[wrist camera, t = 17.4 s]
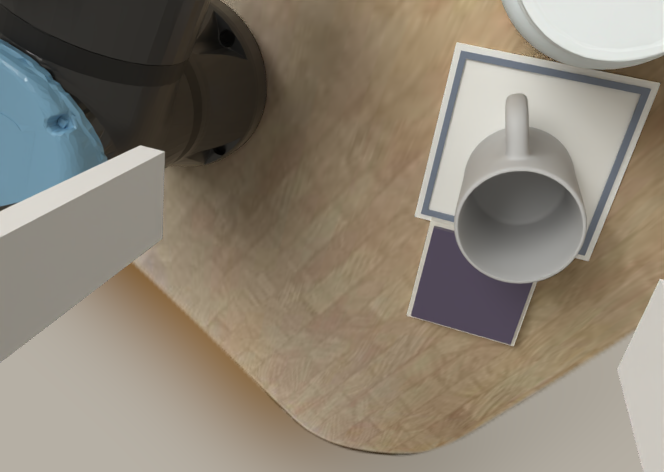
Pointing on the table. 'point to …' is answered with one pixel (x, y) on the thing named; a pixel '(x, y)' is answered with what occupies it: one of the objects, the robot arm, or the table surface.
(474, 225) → the mug
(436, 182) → the print card
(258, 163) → the table surface
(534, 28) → the supplement tub
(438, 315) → the ink pad
